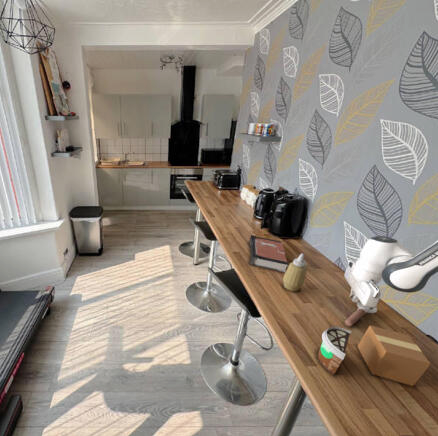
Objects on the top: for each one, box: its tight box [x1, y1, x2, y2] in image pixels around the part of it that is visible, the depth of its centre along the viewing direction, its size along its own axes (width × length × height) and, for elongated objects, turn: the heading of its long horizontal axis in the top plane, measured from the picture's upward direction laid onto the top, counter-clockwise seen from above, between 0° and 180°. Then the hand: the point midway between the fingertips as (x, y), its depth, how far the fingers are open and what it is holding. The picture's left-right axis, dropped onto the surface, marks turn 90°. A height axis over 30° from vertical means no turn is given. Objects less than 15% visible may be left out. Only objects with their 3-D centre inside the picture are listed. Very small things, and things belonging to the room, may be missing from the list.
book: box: [248, 234, 289, 274], centre depth 131 cm, size 26×18×5 cm
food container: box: [317, 326, 352, 375], centre depth 74 cm, size 12×6×10 cm, turn 134°
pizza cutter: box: [344, 300, 378, 327], centre depth 93 cm, size 20×6×3 cm, turn 121°
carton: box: [357, 325, 432, 387], centre depth 73 cm, size 10×10×10 cm
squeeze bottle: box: [282, 252, 308, 292], centre depth 104 cm, size 8×8×18 cm
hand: (353, 299), depth 99 cm, fingers closed
